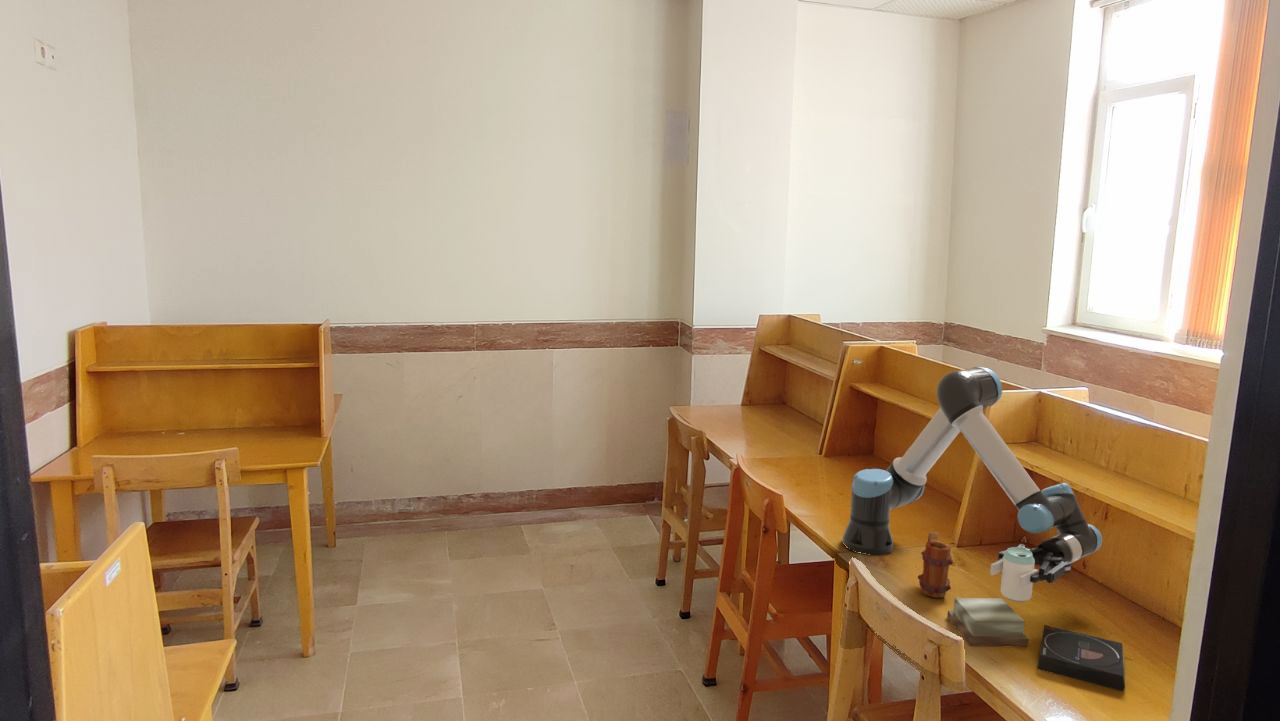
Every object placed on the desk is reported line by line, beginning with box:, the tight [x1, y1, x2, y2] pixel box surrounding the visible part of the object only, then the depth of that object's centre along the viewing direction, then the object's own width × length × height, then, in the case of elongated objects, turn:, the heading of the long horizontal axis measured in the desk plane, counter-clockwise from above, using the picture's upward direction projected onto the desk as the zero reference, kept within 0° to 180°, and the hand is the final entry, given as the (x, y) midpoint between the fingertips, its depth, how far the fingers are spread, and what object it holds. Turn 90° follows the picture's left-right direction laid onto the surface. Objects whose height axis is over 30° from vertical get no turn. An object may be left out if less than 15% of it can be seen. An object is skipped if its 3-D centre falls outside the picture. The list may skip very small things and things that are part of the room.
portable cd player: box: [1037, 624, 1126, 692], centre depth 189 cm, size 16×17×4 cm
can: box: [1000, 546, 1036, 603], centre depth 203 cm, size 7×7×12 cm
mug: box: [917, 531, 954, 598], centre depth 224 cm, size 15×8×15 cm, turn 168°
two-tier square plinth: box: [946, 597, 1030, 648], centre depth 202 cm, size 14×14×6 cm
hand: (1006, 575), depth 200 cm, fingers closed on can, 7 cm apart
